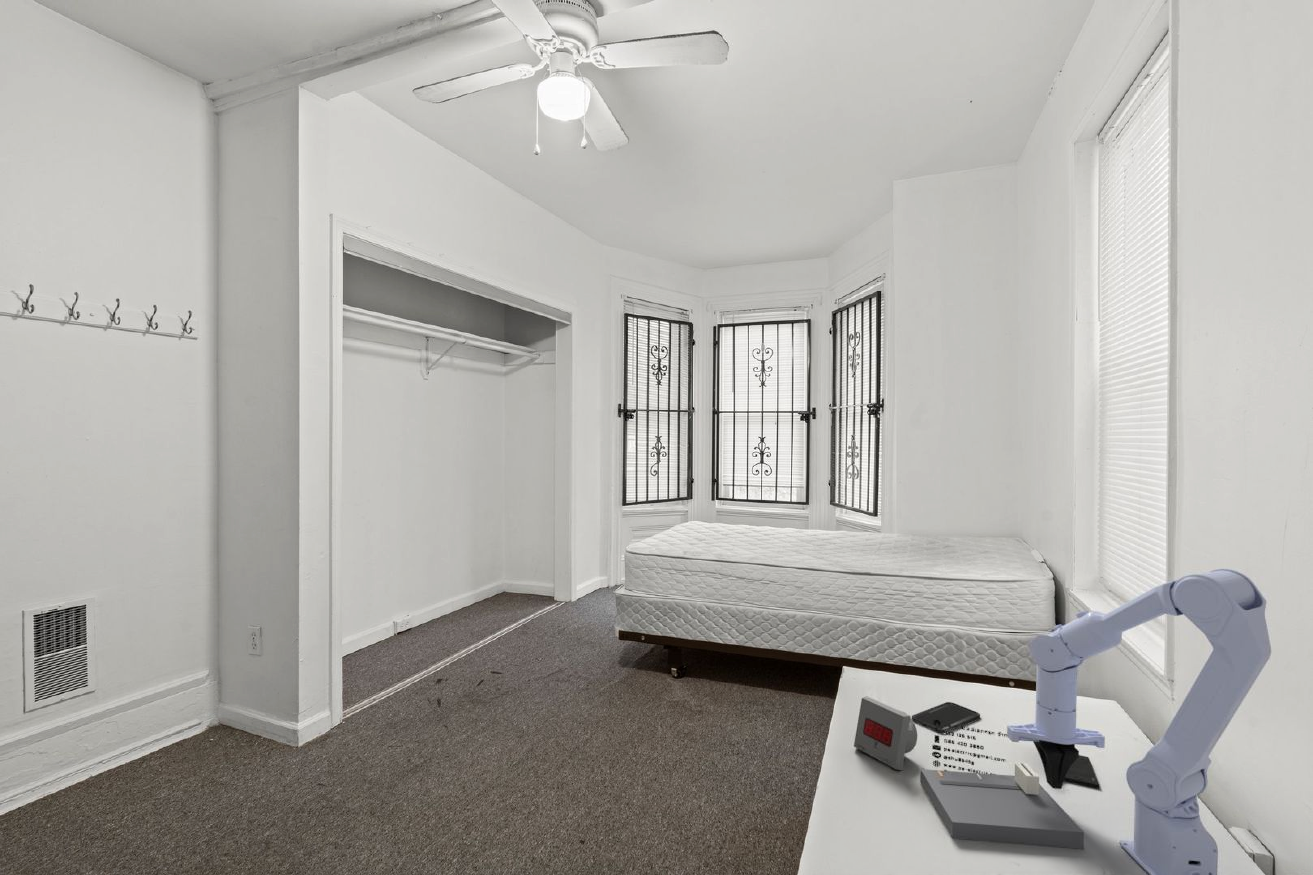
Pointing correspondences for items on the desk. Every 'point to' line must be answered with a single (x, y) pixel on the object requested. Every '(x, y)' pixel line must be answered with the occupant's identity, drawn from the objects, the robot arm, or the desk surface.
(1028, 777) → the fader knob
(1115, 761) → the desk surface
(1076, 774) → the handheld gaming console
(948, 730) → the square ic package
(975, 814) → the grey slotted plate
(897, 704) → the desk surface
